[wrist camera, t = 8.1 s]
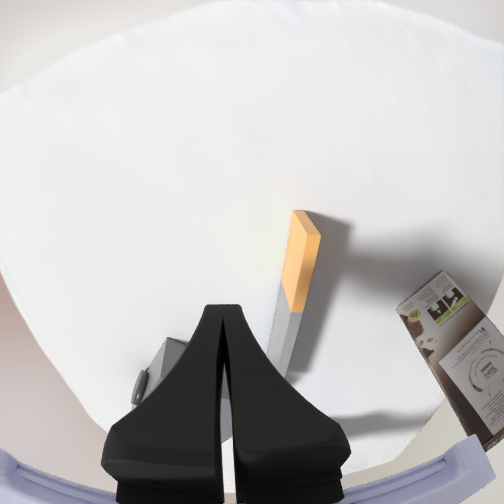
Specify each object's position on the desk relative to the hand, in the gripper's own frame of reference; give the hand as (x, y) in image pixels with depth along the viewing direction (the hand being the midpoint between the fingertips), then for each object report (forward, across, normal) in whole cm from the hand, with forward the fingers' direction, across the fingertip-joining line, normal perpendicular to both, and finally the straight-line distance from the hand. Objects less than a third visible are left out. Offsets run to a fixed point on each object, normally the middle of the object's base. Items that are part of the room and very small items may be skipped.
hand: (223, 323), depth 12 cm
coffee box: (+10, -21, +9) cm, 25 cm away
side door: (+9, -4, +7) cm, 12 cm away
